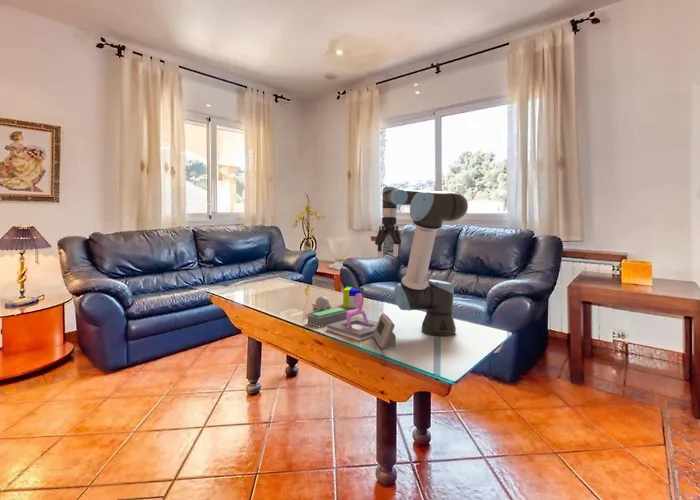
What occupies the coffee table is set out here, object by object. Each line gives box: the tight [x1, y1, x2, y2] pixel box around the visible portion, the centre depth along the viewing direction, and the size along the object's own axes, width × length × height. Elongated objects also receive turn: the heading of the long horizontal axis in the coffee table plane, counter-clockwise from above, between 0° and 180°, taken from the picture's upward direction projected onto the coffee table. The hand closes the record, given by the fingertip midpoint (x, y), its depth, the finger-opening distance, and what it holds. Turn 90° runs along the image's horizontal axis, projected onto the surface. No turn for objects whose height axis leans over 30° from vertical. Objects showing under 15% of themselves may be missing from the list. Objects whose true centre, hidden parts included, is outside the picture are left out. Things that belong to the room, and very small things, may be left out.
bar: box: [312, 307, 347, 318], centre depth 183 cm, size 5×18×3 cm, turn 137°
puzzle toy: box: [342, 286, 365, 309], centre depth 216 cm, size 10×10×10 cm
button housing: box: [307, 309, 349, 327], centre depth 183 cm, size 8×21×4 cm, turn 137°
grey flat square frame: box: [326, 316, 378, 342], centre depth 169 cm, size 20×20×2 cm
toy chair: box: [346, 293, 370, 328], centre depth 168 cm, size 8×9×15 cm
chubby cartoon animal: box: [311, 295, 332, 314], centre depth 198 cm, size 7×12×8 cm, turn 140°
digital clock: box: [372, 313, 397, 350], centre depth 152 cm, size 16×9×11 cm, turn 176°
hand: (388, 257), depth 197 cm, fingers open, 13 cm apart
